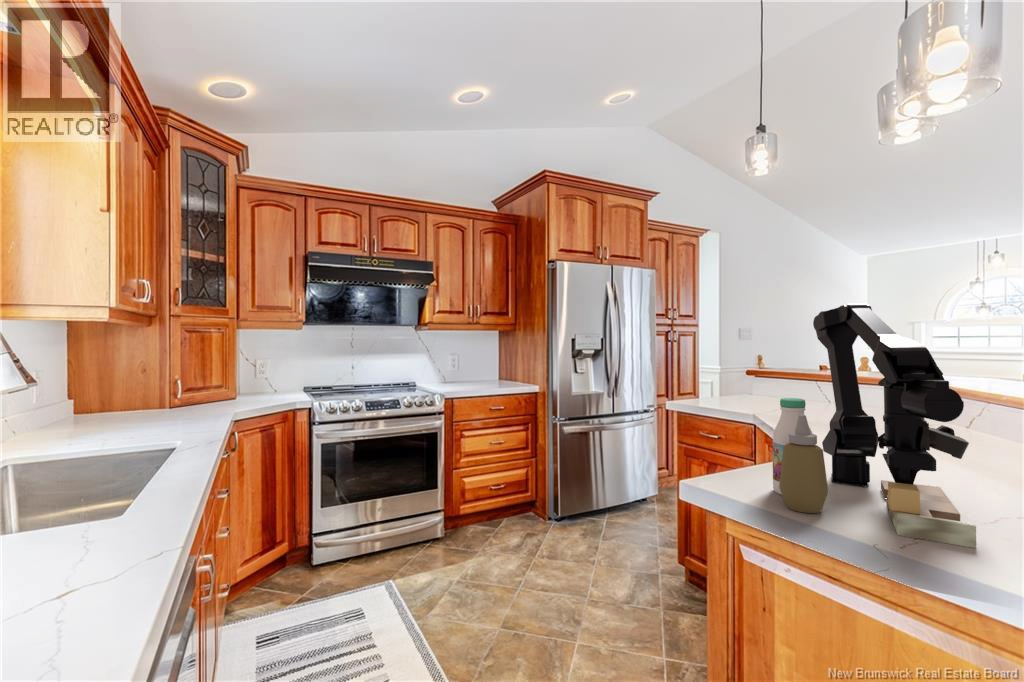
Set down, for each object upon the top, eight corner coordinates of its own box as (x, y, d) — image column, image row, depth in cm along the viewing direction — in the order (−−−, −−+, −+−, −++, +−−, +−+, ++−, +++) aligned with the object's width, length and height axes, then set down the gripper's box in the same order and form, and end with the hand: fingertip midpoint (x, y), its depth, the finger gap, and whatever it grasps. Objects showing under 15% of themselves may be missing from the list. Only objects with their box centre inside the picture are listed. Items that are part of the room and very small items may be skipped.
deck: (897, 534, 78) (897, 514, 78) (881, 489, 101) (880, 473, 101) (976, 548, 73) (976, 526, 73) (940, 496, 96) (940, 480, 96)
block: (890, 510, 84) (890, 487, 84) (888, 503, 87) (887, 481, 87) (920, 514, 82) (919, 491, 82) (916, 507, 85) (916, 485, 85)
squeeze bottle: (805, 518, 86) (804, 420, 86) (769, 503, 94) (768, 413, 93) (839, 513, 88) (838, 417, 88) (801, 499, 96) (800, 411, 96)
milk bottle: (808, 488, 102) (807, 396, 102) (821, 501, 95) (820, 401, 95) (768, 486, 104) (767, 396, 104) (778, 498, 97) (777, 401, 97)
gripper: (977, 424, 75) (979, 522, 75) (950, 408, 91) (952, 489, 91) (888, 419, 81) (890, 509, 81) (877, 405, 97) (879, 481, 97)
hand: (905, 496), depth 87 cm, fingers closed
